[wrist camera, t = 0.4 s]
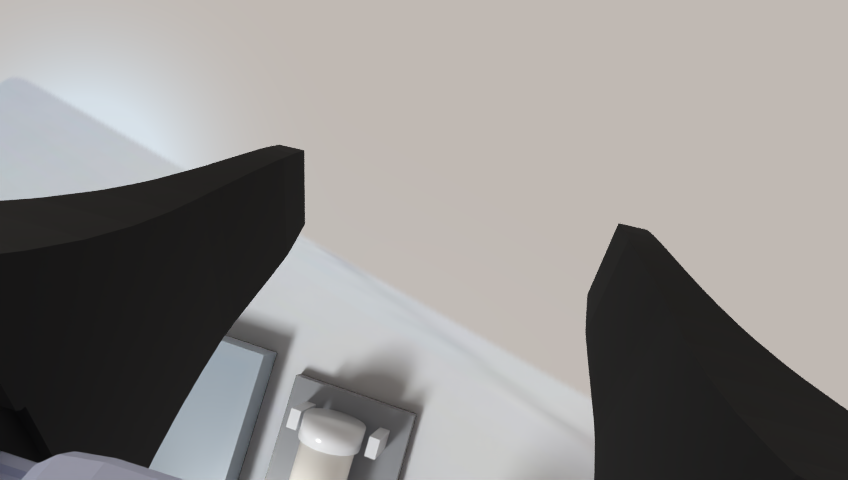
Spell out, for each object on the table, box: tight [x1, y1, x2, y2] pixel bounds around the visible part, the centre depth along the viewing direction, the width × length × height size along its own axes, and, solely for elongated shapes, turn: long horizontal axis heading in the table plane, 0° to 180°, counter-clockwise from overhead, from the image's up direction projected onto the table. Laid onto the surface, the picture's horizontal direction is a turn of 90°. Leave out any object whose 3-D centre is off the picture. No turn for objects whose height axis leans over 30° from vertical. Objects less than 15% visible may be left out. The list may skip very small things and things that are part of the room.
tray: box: [149, 335, 277, 480], centre depth 40 cm, size 15×11×2 cm
